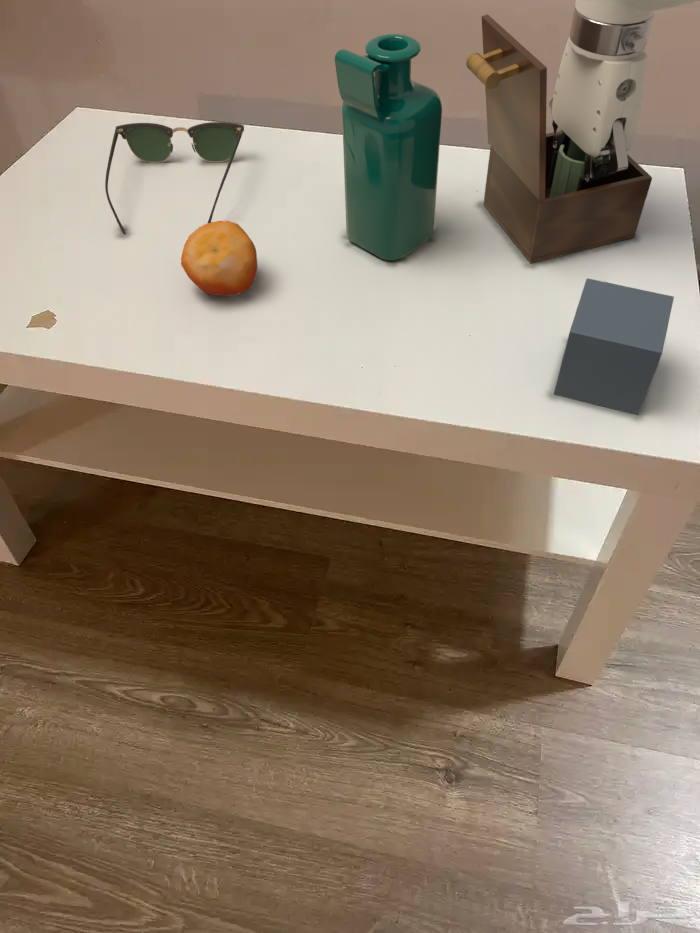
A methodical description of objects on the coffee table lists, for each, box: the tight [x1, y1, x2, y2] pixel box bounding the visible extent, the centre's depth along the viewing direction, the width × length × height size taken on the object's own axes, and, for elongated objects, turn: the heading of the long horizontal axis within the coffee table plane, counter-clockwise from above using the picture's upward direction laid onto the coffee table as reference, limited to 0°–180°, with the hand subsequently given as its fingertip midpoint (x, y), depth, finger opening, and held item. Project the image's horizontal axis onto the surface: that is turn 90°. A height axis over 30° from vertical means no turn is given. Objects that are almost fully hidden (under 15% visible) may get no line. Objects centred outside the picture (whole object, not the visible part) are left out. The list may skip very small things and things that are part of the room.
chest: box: [483, 131, 653, 264], centre depth 90 cm, size 13×12×8 cm
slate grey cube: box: [553, 278, 675, 416], centre depth 74 cm, size 8×8×8 cm
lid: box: [465, 13, 548, 201], centre depth 80 cm, size 14×12×4 cm
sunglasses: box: [104, 121, 245, 234], centre depth 97 cm, size 16×17×5 cm
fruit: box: [180, 220, 258, 297], centre depth 85 cm, size 8×8×8 cm
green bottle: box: [334, 33, 443, 261], centre depth 83 cm, size 10×8×22 cm
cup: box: [549, 140, 603, 198], centre depth 89 cm, size 5×5×6 cm
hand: (573, 192), depth 91 cm, fingers closed on cup, 5 cm apart
